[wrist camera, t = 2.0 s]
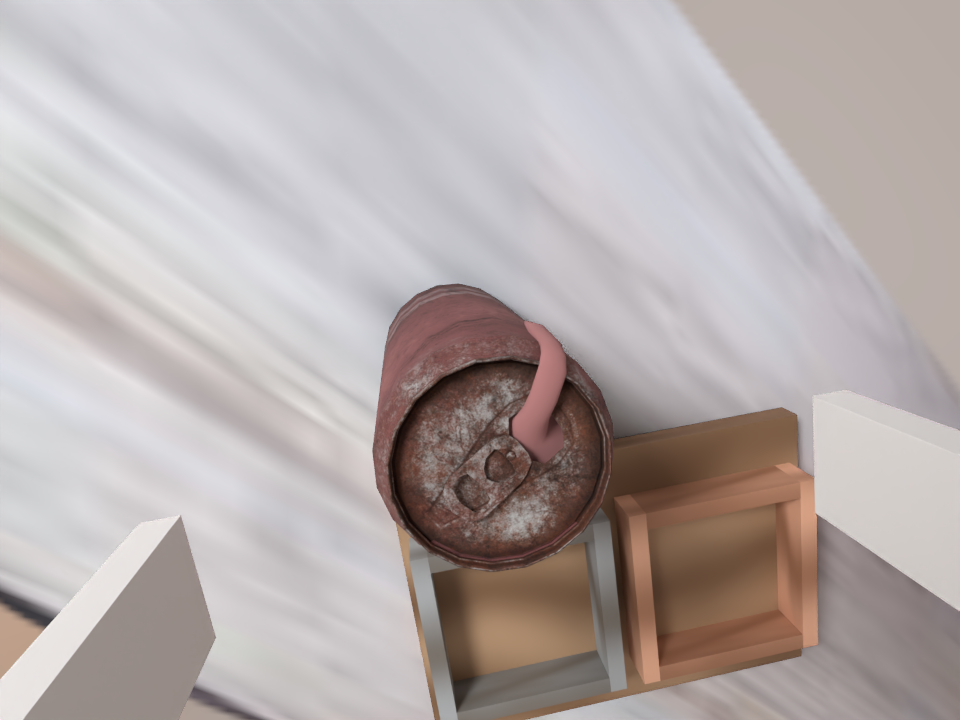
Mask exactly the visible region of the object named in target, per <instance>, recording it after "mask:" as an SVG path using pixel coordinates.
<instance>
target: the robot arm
mask: <svg viewBox="0 0 960 720" xmlns="http://www.w3.org/2000/svg"><path fill="white" fill-rule="evenodd" d="M813 437H814V489H815V513H816V514H818V515H819V516H821V517H822V518H823V519H825V520H826V521H828V522H829V523H831V524H832V525H834V526H835V527H837V528H838V529H840V530H841V531H842V532H844V533H845V534H847V535H848V536H850V537H851V538H853V539H854V540H856V541H857V542H859V543H860V544H861V545H863V546H864V547H866V548H867V549H869V550H870V551H872V552H873V553H875V554H876V555H878V556H879V557H880V558H882V559H883V560H885V561H886V562H888V563H889V564H891V565H892V566H894V567H895V568H897V569H898V570H900V571H901V572H902V573H904V574H905V575H907V576H908V577H910V578H911V579H913V580H914V581H916V582H917V583H919V584H920V585H921V586H923V587H924V588H926V589H927V590H929V591H930V592H932V593H933V594H935V595H936V596H938V597H939V598H940V599H942V600H943V601H945V602H946V603H948V604H949V605H951V606H952V607H954V608H955V609H957V610H958V611H959V612H960V430H957V429H954V428H951V427H949V426H946V425H943V424H940V423H938V422H935V421H932V420H929V419H926V418H924V417H921V416H918V415H915V414H913V413H910V412H907V411H904V410H901V409H899V408H896V407H893V406H890V405H887V404H885V403H882V402H879V401H876V400H874V399H871V398H868V397H865V396H862V395H860V394H857V393H854V392H851V391H848V390H841V391H836V392H830V393H825V394H820V395H815V396H813ZM215 638H216V636H215V633H214V629H213V626H212V622H211V619H210V615H209V612H208V609H207V605H206V602H205V598H204V595H203V591H202V588H201V584H200V581H199V577H198V574H197V570H196V567H195V563H194V560H193V556H192V553H191V549H190V546H189V542H188V539H187V535H186V532H185V529H184V525H183V522H182V518H181V515H179V516H174V517H169V518H163V519H158V520H153V521H148V522H142V523H139V524H138V525H137V527H136V528H135V529H134V530H133V531H132V532H131V533H130V534H129V536H128V537H127V538H126V539H125V540H124V541H123V542H122V543H121V545H120V546H119V547H118V548H117V549H116V550H115V551H114V552H113V553H112V555H111V556H110V557H109V558H108V559H107V560H106V561H105V562H104V564H103V565H102V566H101V567H100V568H99V569H98V570H97V571H96V573H95V574H94V575H93V576H92V577H91V578H90V579H89V580H88V582H87V583H86V584H85V585H84V586H83V587H82V588H81V589H80V591H79V592H78V593H77V594H76V595H75V596H74V597H73V598H72V599H71V601H70V602H69V603H68V604H67V605H66V606H65V607H64V608H63V610H62V611H61V612H60V613H59V614H58V615H57V616H56V617H55V619H54V620H53V621H52V622H51V623H50V624H49V625H48V626H47V628H46V629H45V630H44V631H43V632H42V633H41V634H40V635H39V636H38V638H37V639H36V640H35V641H34V642H33V643H32V644H31V645H30V647H29V648H28V649H27V650H26V651H25V652H24V653H23V654H22V656H21V657H20V658H19V659H18V660H17V661H16V662H15V663H14V665H13V666H12V667H11V668H10V669H9V670H8V671H7V672H6V674H5V675H4V676H3V677H2V678H1V679H0V720H179V717H180V715H181V713H182V711H183V709H184V707H185V704H186V702H187V700H188V698H189V696H190V693H191V691H192V689H193V687H194V685H195V682H196V680H197V678H198V676H199V674H200V671H201V669H202V667H203V665H204V663H205V660H206V658H207V656H208V654H209V652H210V649H211V647H212V645H213V643H214V641H215Z"/></svg>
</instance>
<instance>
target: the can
mask: <svg viewBox="0 0 960 720" xmlns="http://www.w3.org/2000/svg"><path fill="white" fill-rule="evenodd" d="M373 459H374V468H375V476H376V484H377V489H378V491H379V493H380V495H381V497H382V499H383V501H384V503H385V505H386V507H387V509H388V511H389V513H390V515H391V517H392V519H393V520H394V521H395V522H396V523H397V524H398V525H399V526H400V527H401V528H402V529H403V530H404V531H405V532H406V533H407V534H408V535H409V536H410V537H411V538H413V539H414V540H415V541H416V542H417V543H418V544H419V545H421V546H422V547H423V548H424V549H426V550H427V551H428V552H429V553H430V554H433V555H435V556H437V557H439V558H441V559H443V560H445V561H447V562H449V563H451V564H453V565H455V566H457V567H461V568H468V569H474V570H481V571H488V572H497V571H504V570H511V569H518V568H525V567H528V566H530V565H533V564H535V563H537V562H539V561H542V560H544V559H546V558H548V557H551V556H553V555H555V554H557V553H559V552H560V551H561V550H562V549H564V548H565V547H566V546H567V545H568V544H570V543H571V542H572V541H573V540H574V539H576V538H577V537H578V536H579V535H580V534H582V533H583V532H584V531H585V529H586V528H587V526H588V525H589V523H590V522H591V520H592V519H593V517H594V516H595V514H596V513H597V511H598V510H599V508H600V507H601V505H602V504H603V501H604V497H605V494H606V491H607V487H608V484H609V481H610V477H611V474H612V461H613V423H612V420H611V418H610V415H609V412H608V409H607V407H606V404H605V401H604V399H603V396H602V393H601V391H600V389H599V388H598V387H597V386H596V384H595V383H594V382H593V381H592V379H591V378H590V377H589V376H588V375H587V373H586V372H585V371H584V370H583V369H582V367H581V366H580V365H579V364H578V363H577V362H576V361H575V360H574V359H572V358H571V357H570V356H569V355H567V354H566V353H565V352H564V350H563V348H562V344H561V343H560V342H559V341H558V340H557V339H556V338H555V337H554V336H553V335H552V334H551V333H550V332H549V331H548V330H547V329H546V328H545V327H544V326H543V325H540V324H536V323H533V322H529V321H524V320H523V319H522V318H521V317H519V316H518V315H517V314H515V313H514V312H513V311H512V310H510V309H509V308H508V307H507V306H505V305H504V304H503V303H502V302H500V301H499V300H498V299H496V298H494V297H493V296H491V295H489V294H488V293H486V292H485V291H483V290H481V289H479V288H475V287H471V286H466V285H462V284H450V285H439V286H435V287H433V288H430V289H428V290H426V291H423V292H421V293H419V294H417V295H416V296H414V297H413V298H412V299H411V300H410V301H409V302H407V303H406V304H405V305H404V306H403V307H402V308H401V309H400V310H399V312H398V314H397V315H396V317H395V319H394V320H393V322H392V324H391V326H390V327H389V332H388V337H387V341H386V346H385V352H384V361H383V369H382V377H381V385H380V394H379V402H378V410H377V418H376V426H375V435H374V443H373Z"/></svg>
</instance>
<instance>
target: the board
mask: <svg viewBox="0 0 960 720" xmlns="http://www.w3.org/2000/svg"><path fill="white" fill-rule="evenodd" d="M396 526H397V531H398V536H399V541H400V546H401V551H402V556H403V561H404V566H405V571H406V576H407V581H408V586H409V591H410V596H411V601H412V606H413V612H414V617H415V622H416V627H417V632H418V637H419V642H420V647H421V652H422V657H423V662H424V667H425V672H426V677H427V682H428V687H429V692H430V697H431V702H432V707H433V712H434V717H435V720H526V719H530V718H535V717H539V716H543V715H548V714H552V713H556V712H561V711H565V710H569V709H574V708H578V707H582V706H587V705H591V704H595V703H600V702H604V701H608V700H613V699H617V698H621V697H626V696H630V695H634V694H639V693H643V692H647V691H652V690H656V689H660V688H665V687H669V686H673V685H678V684H682V683H686V682H691V681H695V680H699V679H704V678H708V677H712V676H717V675H721V674H725V673H730V672H734V671H738V670H743V669H747V668H751V667H756V666H760V665H764V664H769V663H773V662H777V661H782V660H786V659H790V658H795V657H799V656H801V648H806V647H810V646H814V645H818V587H817V514H816V513H815V489H814V477H812V476H810V475H809V474H807V473H806V472H804V471H802V470H801V469H799V468H798V443H797V415H796V414H794V413H792V412H790V411H788V410H786V409H784V408H776V409H771V410H766V411H761V412H755V413H750V414H745V415H739V416H734V417H729V418H724V419H718V420H713V421H708V422H702V423H697V424H692V425H687V426H681V427H676V428H671V429H665V430H660V431H655V432H650V433H644V434H639V435H634V436H628V437H623V438H618V439H613V461H612V474H611V477H610V481H609V484H608V487H607V491H606V494H605V497H604V501H603V504H602V505H601V507H600V508H599V510H598V511H597V513H596V514H595V516H594V517H593V519H592V520H591V522H590V523H589V525H588V526H587V528H586V529H585V531H584V532H583V533H582V534H580V535H579V536H578V537H577V538H576V539H574V540H573V541H572V542H571V543H570V544H568V545H567V546H566V547H565V548H564V549H562V550H561V551H560V552H559V553H557V554H555V555H553V556H551V557H548V558H546V559H544V560H542V561H539V562H537V563H535V564H533V565H530V566H528V567H525V568H518V569H511V570H504V571H497V572H488V571H481V570H474V569H468V568H461V567H457V566H455V565H453V564H451V563H449V562H447V561H445V560H443V559H441V558H439V557H437V556H435V555H433V554H430V553H429V552H428V551H427V550H426V549H424V548H423V547H422V546H421V545H419V544H418V543H417V542H416V541H415V540H414V539H413V538H411V537H410V536H409V535H408V534H407V533H406V532H405V531H404V530H403V529H402V528H401V527H400V526H399V525H398V524H397V523H396Z"/></svg>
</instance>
